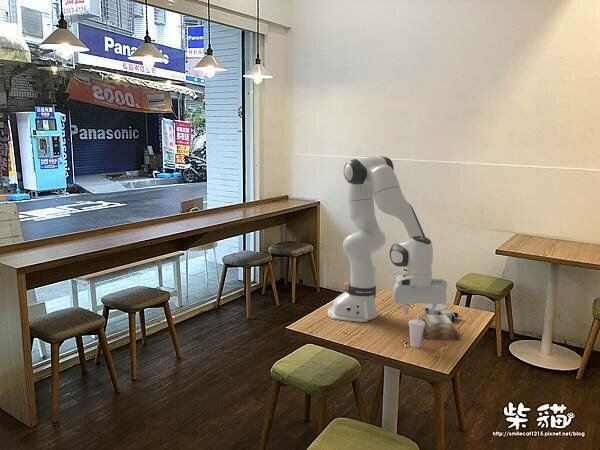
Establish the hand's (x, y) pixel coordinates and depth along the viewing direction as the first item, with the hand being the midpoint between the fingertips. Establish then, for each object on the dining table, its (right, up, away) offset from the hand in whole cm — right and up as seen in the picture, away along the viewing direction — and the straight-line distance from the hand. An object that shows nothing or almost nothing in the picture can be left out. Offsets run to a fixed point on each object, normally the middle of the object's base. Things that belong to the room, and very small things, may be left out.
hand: (418, 313), depth 191 cm
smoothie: (0, -13, +3) cm, 13 cm away
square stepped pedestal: (+12, -11, +16) cm, 23 cm away
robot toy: (+18, -8, +34) cm, 39 cm away
